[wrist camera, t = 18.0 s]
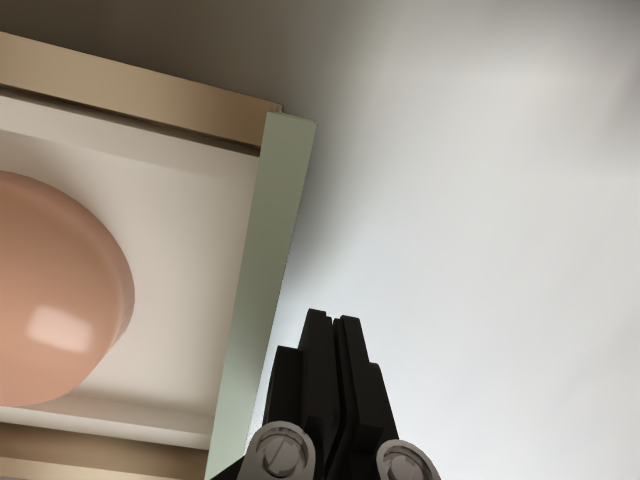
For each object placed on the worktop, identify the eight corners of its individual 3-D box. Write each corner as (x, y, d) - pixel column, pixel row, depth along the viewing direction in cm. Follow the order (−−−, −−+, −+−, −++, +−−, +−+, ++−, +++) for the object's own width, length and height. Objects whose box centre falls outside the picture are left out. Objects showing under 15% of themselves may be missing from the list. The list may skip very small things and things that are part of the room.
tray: (314, 121, 10) (317, 124, 6) (244, 440, 14) (224, 536, 11) (-227, -18, 8) (-589, -107, 5) (-108, 390, 13) (-251, 484, 10)
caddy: (282, 105, 10) (270, 101, 7) (224, 417, 15) (201, 500, 12) (-219, -25, 9) (-522, -104, 6) (-107, 368, 14) (-236, 447, 11)
